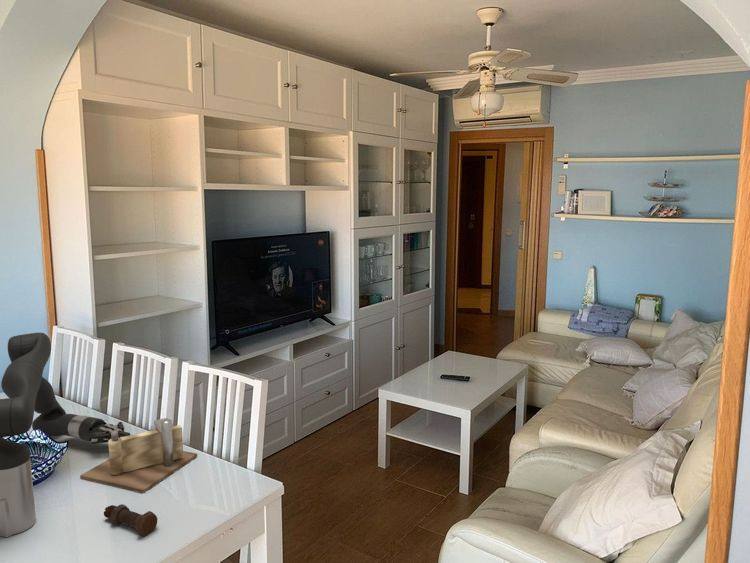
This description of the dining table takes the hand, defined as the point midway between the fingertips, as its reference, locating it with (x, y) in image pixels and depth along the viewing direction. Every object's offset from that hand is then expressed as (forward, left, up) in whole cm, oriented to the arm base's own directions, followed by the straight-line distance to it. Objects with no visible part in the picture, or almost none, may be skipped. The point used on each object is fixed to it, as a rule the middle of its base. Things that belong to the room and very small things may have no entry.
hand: (128, 437), depth 185 cm
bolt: (-31, -28, -7) cm, 42 cm away
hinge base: (-5, -9, -6) cm, 12 cm away
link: (-5, -12, -5) cm, 14 cm away
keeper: (-1, -15, -5) cm, 16 cm away
